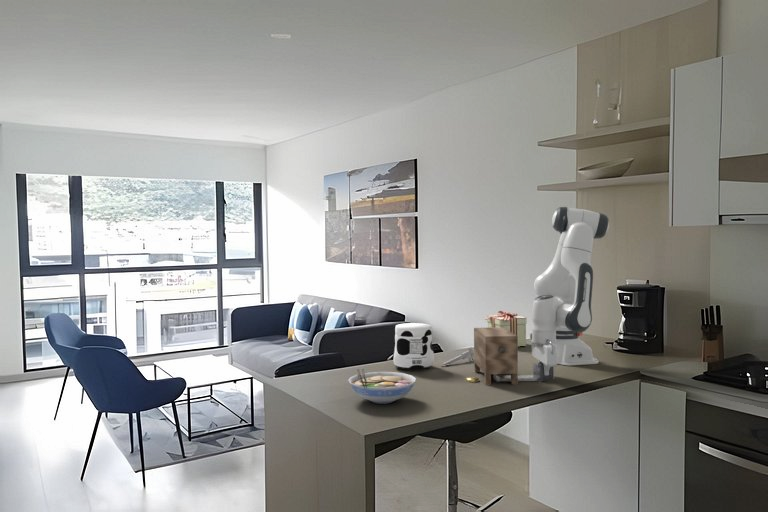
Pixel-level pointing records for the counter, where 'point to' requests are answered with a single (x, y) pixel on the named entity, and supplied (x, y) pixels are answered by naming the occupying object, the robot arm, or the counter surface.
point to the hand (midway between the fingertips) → (544, 373)
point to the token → (472, 379)
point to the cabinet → (496, 353)
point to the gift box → (510, 324)
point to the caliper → (462, 356)
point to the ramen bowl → (382, 385)
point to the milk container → (413, 346)
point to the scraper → (536, 375)
